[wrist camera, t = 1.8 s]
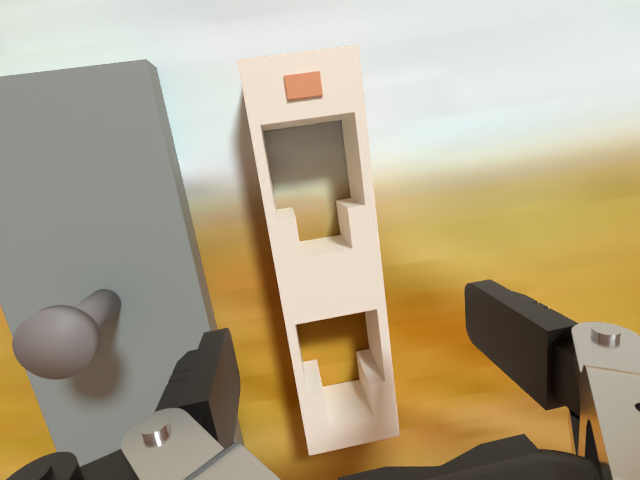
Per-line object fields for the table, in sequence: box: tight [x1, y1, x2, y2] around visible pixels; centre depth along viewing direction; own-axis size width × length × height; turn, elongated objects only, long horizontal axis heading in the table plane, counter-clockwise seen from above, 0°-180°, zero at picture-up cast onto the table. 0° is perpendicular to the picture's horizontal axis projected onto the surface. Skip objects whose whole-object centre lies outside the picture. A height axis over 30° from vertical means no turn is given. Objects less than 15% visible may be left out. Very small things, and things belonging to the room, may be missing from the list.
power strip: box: [237, 45, 400, 456], centre depth 20 cm, size 5×21×4 cm, turn 8°
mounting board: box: [0, 59, 244, 467], centre depth 18 cm, size 10×28×6 cm, turn 8°
